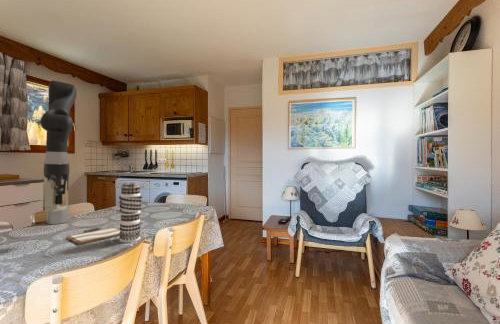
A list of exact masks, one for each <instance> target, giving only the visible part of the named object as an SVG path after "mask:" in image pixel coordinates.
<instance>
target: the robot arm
mask: <svg viewBox="0 0 500 324" xmlns="http://www.w3.org/2000/svg"><path fill="white" fill-rule="evenodd" d="M47 97H48V110H47V111H46V112H45V113H44V114H43V115H42V116H41V118H40V121H39V123H40V126H41V128H42V129H43V130H44V131H46V140H45V156H44V157H45V158H44V164H43V176H44V177H45V178H46V179H47V181H51V182H56V185H57V188H56V187H54V190H55V195H56V196H55V204H56V205H59V204H62V196H63V194H65V189H66V181H67V201H66V209H65V210H60V211H55V212H49V211H46V224H47V225H58V224H65V223H68V221H69V181H70V180H69V179H70V164H69V156H68V143H69V140H70V139H69V138H70V134H71V131H72V129H73V126H74V120H73V119H72V117H71V116H70V113H71V108H72V107H73V106H74V103H75V101H76V99H77V87H76V85H74V84H72V83H68V82H63V81H59V80H50V82H49V84H48V95H47ZM47 181H46V182H47ZM60 190H61V191H60Z"/></svg>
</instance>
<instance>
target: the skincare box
mask: <svg viewBox="0 0 500 324" xmlns="http://www.w3.org/2000/svg"><path fill="white" fill-rule="evenodd" d="M54 187H56V188H57V185H56V182H51V181H45V189H44V195H45V196H44V212H47V211H49V212H55V211H60V210H65V209H66V201H67V181H66V189H65V194H63V196H62V204H59V205H56V204H55V196H56V195H55V190H54ZM60 191H61V190H60Z"/></svg>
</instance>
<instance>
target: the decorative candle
mask: <svg viewBox="0 0 500 324" xmlns="http://www.w3.org/2000/svg"><path fill="white" fill-rule="evenodd" d="M120 188H121V191H120V195H119V196H118V198H119V202H118V203H119V208H120V209H119V214H120V220H119V221H120V224H119V230H121V231H120V233H119V234H120V236H118V237H119V240H118V241H119V242H121V243H133V242H137V241H139V240H140V239H141V218H140V217H141V215H140V214H141V213H142V211H141V210H142V204H141V202H142V201H143V200H142V198H143V196H141V185H140V184H139V183H138V182H124V183H123V184H122V185H121V186H120Z"/></svg>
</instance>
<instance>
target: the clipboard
mask: <svg viewBox="0 0 500 324" xmlns="http://www.w3.org/2000/svg"><path fill="white" fill-rule="evenodd" d="M120 231H121V230H120V228H119V229H118V228H116V227H114V226H113V227H111V226H110V227H107V228H102V229H100V227H94V228H90V229H85V230H83V232H82V233H78V234H77V233H76V234H73V235H67V236H65V238H66V239H67V240H69V241H71V242H72V243H75V244H76V245H78V246H82V245H86V244H91V243H95V242H98V241H99V242H100V241H103V240H107V239H112V238H118V237H119V236H120V234H119V233H120Z"/></svg>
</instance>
